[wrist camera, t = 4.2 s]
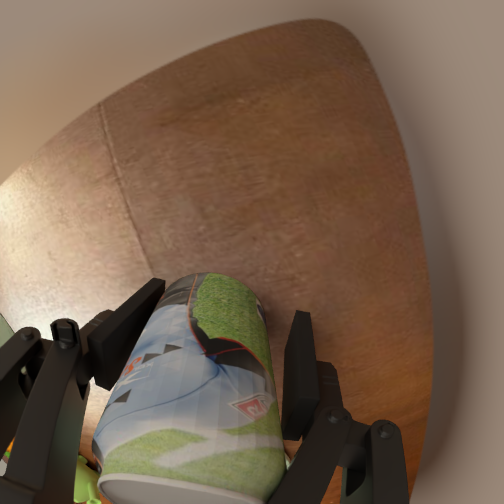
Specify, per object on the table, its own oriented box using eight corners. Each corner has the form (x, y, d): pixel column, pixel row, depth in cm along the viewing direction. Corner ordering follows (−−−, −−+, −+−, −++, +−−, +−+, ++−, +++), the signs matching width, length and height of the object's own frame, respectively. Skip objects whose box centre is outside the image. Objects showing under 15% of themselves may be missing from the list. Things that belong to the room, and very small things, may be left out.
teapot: (53, 430, 26) (25, 465, 17) (119, 475, 26) (98, 516, 18) (53, 451, 29) (32, 480, 21) (108, 488, 29) (91, 520, 21)
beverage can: (165, 259, 15) (1, 398, 4) (297, 273, 15) (309, 502, 3) (171, 349, 17) (80, 499, 6) (283, 366, 17) (268, 552, 5)
